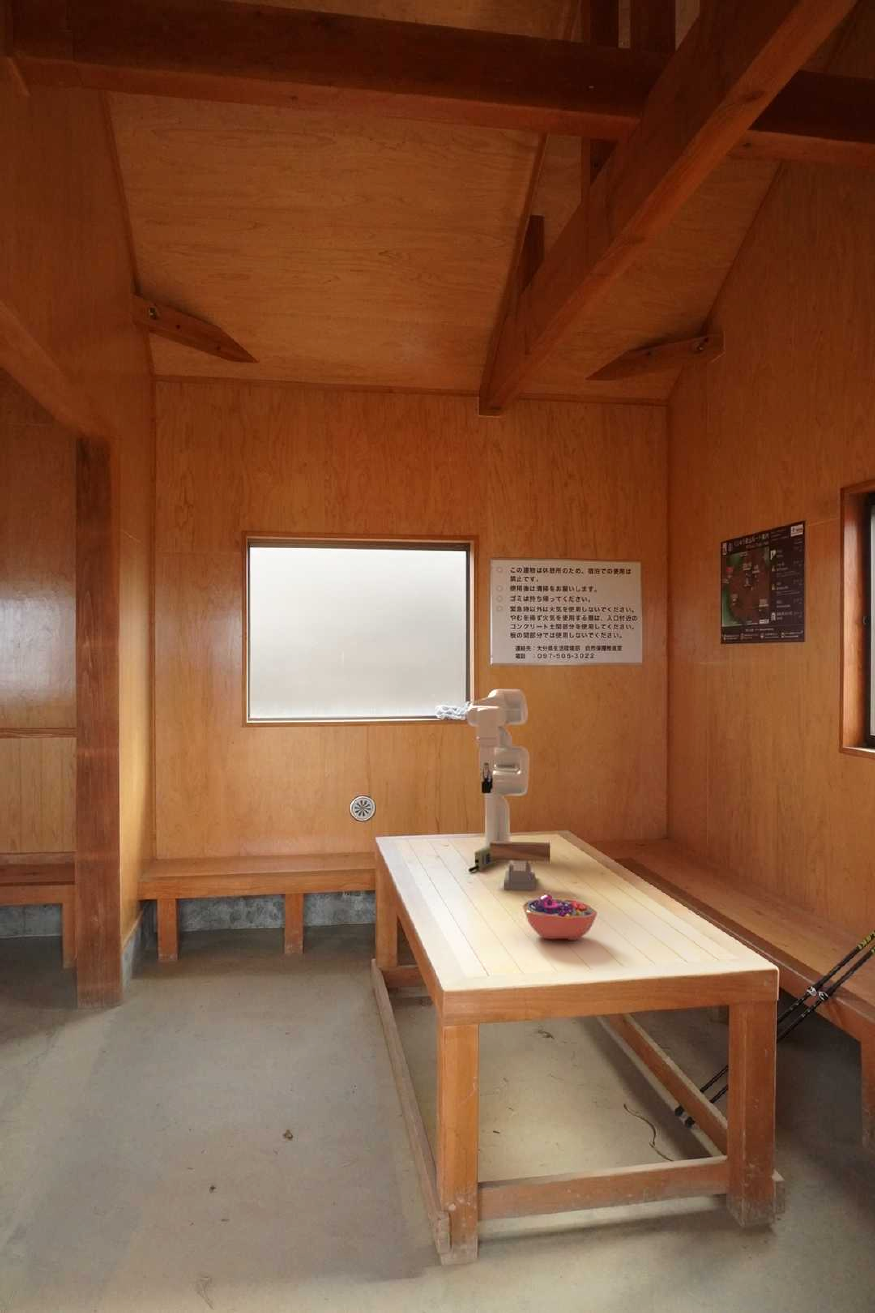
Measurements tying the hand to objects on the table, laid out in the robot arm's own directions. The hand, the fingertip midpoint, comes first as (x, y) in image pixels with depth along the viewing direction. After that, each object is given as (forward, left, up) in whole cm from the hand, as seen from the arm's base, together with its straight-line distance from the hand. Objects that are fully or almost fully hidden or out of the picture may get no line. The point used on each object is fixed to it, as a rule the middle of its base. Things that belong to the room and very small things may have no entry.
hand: (487, 791), depth 292 cm
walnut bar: (+15, +12, -20) cm, 28 cm away
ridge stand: (+15, +12, -28) cm, 34 cm away
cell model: (+68, +24, -29) cm, 78 cm away
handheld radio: (-8, -1, -29) cm, 30 cm away
